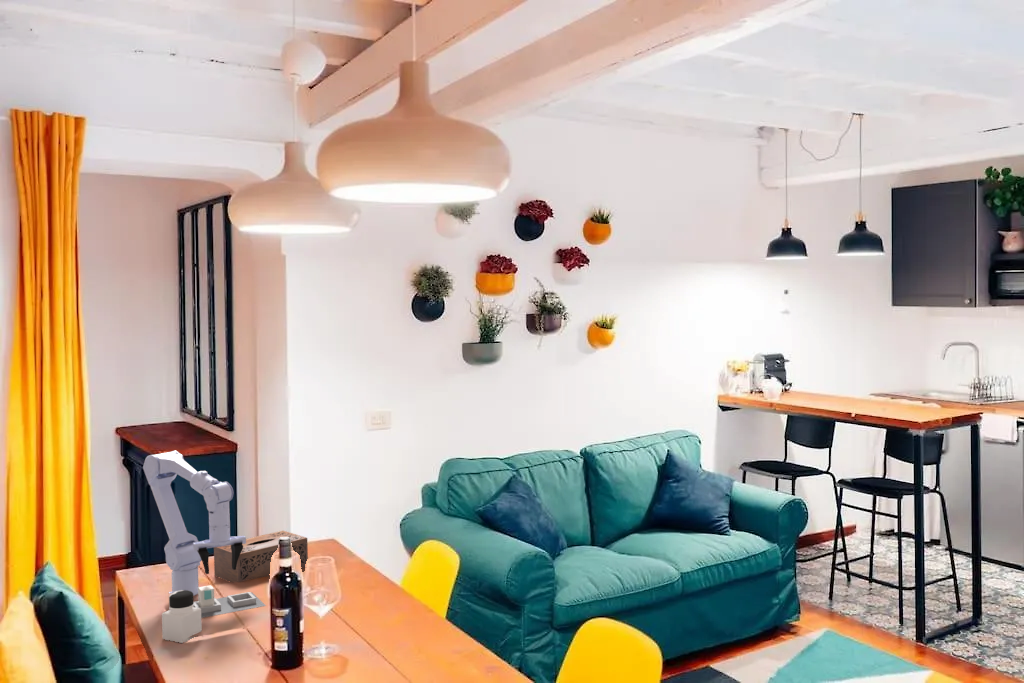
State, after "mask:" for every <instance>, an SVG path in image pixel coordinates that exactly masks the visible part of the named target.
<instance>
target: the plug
mask: <svg viewBox="0 0 1024 683" xmlns="http://www.w3.org/2000/svg"><path fill="white" fill-rule="evenodd" d="M197 596H198V598H197V600H198V606H199V608H200V607H205V606H210V605H214V598H215V588H214V587H213V586H212V585H211V584H210V585H209V584H208V585H204V586H203V585H202V586H199V587H198V594H197Z"/></svg>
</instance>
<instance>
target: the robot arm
mask: <svg viewBox="0 0 1024 683" xmlns="http://www.w3.org/2000/svg"><path fill="white" fill-rule="evenodd" d="M143 462H144V463H143V466H142V469H143V472H144V474H145V477H146V480H147V482H148V485H149V486H150V490H151V491H152V495H153V497H154V500H155V503H156V506H157V508H158V511H159V514H160V517H161V520H162V523H163V525H164V528H165V530H166V533H167V536H168V542H167V543H166V544H165V545H164V547H163V548H164V553H165V562H166V564H167V567H169V568H170V570H171V591H169V592H168V594H172V593H174V592H176V591H180V590H188V591H191V592H192V593H193V597H194V596H196V595H197V596H198V587H200V586H199V566H201V563H202V566H203V568H204V573H205V575H210V568H209V567H210V566H209V555H210V552H209V550H208V549H212V548H213V549H214V547H220V546H227V545H231V551H232V569H233V570H236V566H237V562H238V558H239V556H240V553H241V551H242V549H243V545H242V544H246V539H247V537H246V536H245V535H237V536H231V520H230V514H231V513H230V501H232V500H233V497H234V489H233V487H232V485H231V483H229V482H228V481H219V480H218V479H217V478H215V477H213V476H211V475H210V474H208V471H206V470H200V471H197V470H196V469H195V468H194V467H193V466H192V465H190V464H189V463H188V462H187V461H186V460H185V459H184V455H183V454H181V453H180V452H179V451H177V450H172V451H171V450H170V451H168V452H162V453H157V454H150V455H147V456H146V457H145V460H144V461H143ZM177 475H178V476H180V477H181V478H183V479H185V480H187V481H188V482H189V485H190V487H191V488H192V489H194V491H196V492H197V493H199V494H200V495H202V496H203V500H204V502H205V504H206V509H207V511H208V527H209V528H208V529H209V530H208V531H209V533H208V535H209V536H208V538H209V539H205V540H201V541H199V540H198V537H197V536H196V535H194V534H192V533H189V532H188V530H187V527H186V525H185V522H184V519H183V517H182V514H181V511H180V509H179V506H178V503H177V500H176V498H175V494H174V491H173V489H172V486H171V485H172V482H173V481H174V480H175V479H176V477H177Z"/></svg>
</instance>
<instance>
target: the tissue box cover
mask: <svg viewBox="0 0 1024 683" xmlns="http://www.w3.org/2000/svg"><path fill="white" fill-rule="evenodd" d="M280 537H289V538H290V539H291V543H292V547H293V550H294V551H295V552H297V553H298V554H299V555H300V559H301V567H302V568H301V569H304V568H306V567H305V564H306V561H307V559H308V560H309V556H308V555H309V554H308V553H309V552H308V551H309V549H308V537H305V536H303V535H299V534H297V533H293V532H289V531H287V530H286V531H285V530H279V531H274V532H271V533H265V534H261V535H257V536H253V537H249V538H246V544H242V545H243V549H242V551H241V553H240V556H239V558H238V562H237V566H236V570H233V569H232V551H231V545H227V546H220V547H213V566H214V568H213V570H214V573H213V574H214V577H216V576H217V577H216V578H218V577H220V578H219V579H221V578H222V579H221V580H223V579H224V581H226V580H227V582H228V581H230V582H229V583H231V582H232V583H241V582H245V581H249V580H255V579H261V578H265V577H270V576H269V574H270V562H271V557H272V555H273V553H274V552H275V551H276V550H277V548H278V540H279V538H280Z"/></svg>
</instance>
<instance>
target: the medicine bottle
mask: <svg viewBox="0 0 1024 683" xmlns="http://www.w3.org/2000/svg"><path fill="white" fill-rule="evenodd" d="M193 602H194V596H193V593H192V592H191V591H188V590H180V591H176V592H174V593H169V596H168V610H166V611H164V612H162V613H161V628H162V629H161V631H162V634H161V635H162V640H164V639H165V641H169V640H170V641H169V642H173V641H175V643H178V642H179V643H178V644H184V643H186V642H188V641H191V640H192V638H193V639H195V638H197V637H196V636H197V635H196V634H199V633H201V632H202V631H203V630H202V618H201V609H200V608H196V607H193V606H194V603H193ZM194 635H196V636H194ZM194 637H195V638H194ZM190 639H191V640H190ZM183 642H184V643H183Z"/></svg>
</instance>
